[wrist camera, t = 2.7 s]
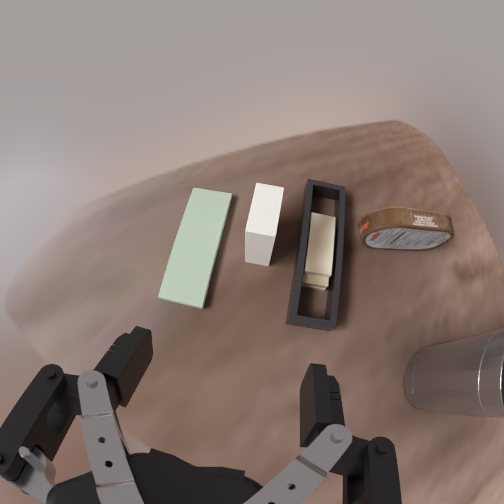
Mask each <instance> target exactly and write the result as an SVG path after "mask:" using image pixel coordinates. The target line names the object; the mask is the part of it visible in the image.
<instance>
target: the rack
mask: <svg viewBox="0 0 504 504" xmlns="http://www.w3.org/2000/svg"><path fill="white" fill-rule="evenodd" d="M312 195H314V196H319V197H324V198H328V199H333V200H335V212H334V217H336V218H335V235H334V249H333V262H332V273H331V276H330V278H329V287H328V296H327V305H326V313H325V320H324V319H318V318H312V317H305V316H299V315H297V311H298V305H299V298H300V291H301V284H302V277H303V270H304V262H305V254H306V246H307V238H308V229H309V220H310V211H311V201H312ZM344 222H345V187H342V186H338V185H334V184H329V183H325V182H320V181H316V180H311V179H308V180H307V183H306V186H305V191H304V199H303V208H302V216H301V224H300V231H299V239H298V246H297V253H296V260H295V267H294V274H293V281H292V287H291V294H290V300H289V306H288V312H287V318H286V324H289V325H295V326H301V327H307V328H314V329H320V330H327V331H330V330H333V329H335V328H336V322H337V313H338V304H339V295H340V284H341V273H342V259H343V244H344Z"/></svg>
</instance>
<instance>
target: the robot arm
mask: <svg viewBox="0 0 504 504" xmlns="http://www.w3.org/2000/svg"><path fill="white" fill-rule="evenodd" d="M152 356H153V347H152V335H151V330H149V329H145V328H142V327H139V326H136V327H135V328H134V329H133V331H132V332H131V333H130V334H128V333H124V334H123V335H121V336H119V337H118V338H117V339H116V340H115V342H114V343H113V345H112V346H111V347H110V348H109V351H107V352H106V354H105V355H104V356H103V358H102V359H101V360H100V362H99V363H98V365H97V366H96V367H95V369H94V370H90V371H86V372H84V373H82V374H81V375H80V376H77V375H70V374H64V372H63V370H62V368H61V367H60V366H58V365H55V364H49V365H46V366H44V367H43V368H42V369H41V370H40V371H39V373H38V374H37V375H36V376H35V378H34V379H33V381H32V382H31V383H30V385H29V386H28V387H27V389H26V390H25V392H24V393H23V395H22V396H21V398H20V399H19V400H18V402H17V403H16V405H15V406H14V408H13V409H12V411H11V412H10V414H9V415H8V417H7V418H6V420H5V422H4V423H3V425H2V426H1V428H0V476H1V477H2V478H3V479H4V480H5V481H7V482H8V483H9V484H11V485H12V486H14V487H15V488H17V489H19V490H21V491H22V492H23V493H25V494H27V495H31V496H32V497H34V498H35V499H37V500H38V501H40V502H41V503H43V504H301V503H302V502H303V501H304V500H305V499H306V498H307V497H308V496H309V495H310V493H311V492H312V491H313V490H314V489H315V488H316V487H317V486H318V485H319V484H320V482H321V481H322V480H323V479H324V478H325V477H326V474H327V473H328V472H332V473H335V474H339V475H343V504H402V501H401V491H400V481H399V473H398V466H397V459H396V452H395V447H394V444H393V443H392V442H391V441H390V440H389V439H388V438H385V437H376V438H373V439H372V440H371V441H368V440H364V439H361V438H357V437H355V436H353V435H352V434H351V432H350V430H349V429H348V428H346V427H345V422H344V415H343V408H342V401H341V395H340V388H339V383H338V382H337V380H336V379H335V377H334V376H328V375H327V369H326V365H321V364H313V363H311V364H310V365H309V367H308V369H307V372H306V374H305V377H304V379H303V381H302V384H301V388H300V447H307V449H306V450H305V451H304V452H303V453H302V454H301V455H300V456H298V457H296V458H295V459H294V460H293V461H292V462H291V463H290V464H289V465H288V466H287V467H286V468H285V469H284V470H283V471H281V472H280V473H279V474H278V475H277V476H276V477H275V478H274V479H273V480H271V481H270V482H269V483H268V484H267V485H266V486H264V487H262V486H261V485H260V484H259V483H257V482H256V481H254V480H252V479H250V478H248V477H246V476H244V474H245V471H242V470H236V469H230V468H225V467H196V466H193V465H191V464H189V463H187V462H185V461H183V460H181V459H179V458H178V457H176V456H174V455H171V454H168V453H164V452H161V451H158V450H155V449H152V448H151V450H150V452H149V453H134V454H130V452H129V449H128V447H127V444H126V442H125V439H124V436H123V433H122V430H121V426H120V423H119V420H118V416H117V413H116V409H117V407H118V405H120V406H123V407H125V408H126V406H127V404H128V402H129V401H130V399H131V397H132V395H133V393H134V391H135V389H136V388H137V386H138V384H139V382H140V380H141V378H142V377H143V375H144V373H145V371H146V369H147V368H148V366H149V364H150V362H151V360H152ZM404 388H405V394H406V397H407V399H408V401H409V402H410V403H411V404H412V405H413V406H414V407H416V408H417V409H422V410H428V411H435V412H441V413H449V414H458V415H468V416H481V417H504V328H502V329H498V330H495V331H492V332H488V333H484V334H481V335H477V336H473V337H469V338H465V339H461V340H456V341H452V342H447V343H442V344H437V345H433V346H428V347H425V348H423V349H421V350H420V351H418V352H417V353H416V354H415V355H414V357H413V358H412V359H411V361H410V363H409V365H408V367H407V370H406V374H405V379H404ZM76 415H82V417H80V420H81V426H82V431H83V436H84V441H85V445H86V449H87V453H88V457H89V461H90V465H91V468H92V471H90V472H88V473H85V474H83V475H80V476H77V477H75V478H72V479H69V480H67V481H64V482H61V483H58V484H56V485H55V481H54V479H55V474H56V470H55V467H54V465H53V463H52V461H53V459H54V457H55V455H56V453H57V451H58V449H59V447H60V445H61V443H62V441H63V439H64V437H65V435H66V433H67V431H68V430H69V428H70V426H71V424H72V422H73V420H74V418H75V416H76Z"/></svg>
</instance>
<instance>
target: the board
mask: <svg viewBox="0 0 504 504" xmlns="http://www.w3.org/2000/svg"><path fill="white" fill-rule="evenodd" d="M231 200H232V194H231V193H225V192H218V191H212V190H205V189H198V188H193V190H192V193H191V196H190V199H189V201H188V204H187V207H186V210H185V213H184V216H183V219H182V221H181V224H180V227H179V230H178V233H177V236H176V239H175V243H174V246H173V249H172V252H171V255H170V258H169V262H168V265H167V268H166V271H165V275H164V278H163V282H162V285H161V289H160V292H159V296H158V297H159V298H160V299H163V300H167V301H171V302H175V303H179V304H183V305H187V306H191V307H196V308H200V309H203V308H204V304H205V300H206V296H207V292H208V288H209V284H210V280H211V276H212V272H213V268H214V264H215V260H216V256H217V252H218V248H219V245H220V241H221V237H222V233H223V229H224V226H225V222H226V218H227V215H228V211H229V207H230V204H231Z"/></svg>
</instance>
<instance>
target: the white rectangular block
mask: <svg viewBox="0 0 504 504" xmlns="http://www.w3.org/2000/svg"><path fill="white" fill-rule="evenodd" d="M283 190H284V188H282V187H277V186H271V185H266V184H260V183H256V187H255V192H254V196H253V200H252V204H251V209H250V213H249V217H248V222H247V226H246V230H245V262H249V263H254V264H259V265H265V266H269V262H270V258H271V254H272V250H273V246H274V241H275V237H276V231H277V226H278V220H279V214H280V208H281V202H282V196H283Z"/></svg>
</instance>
